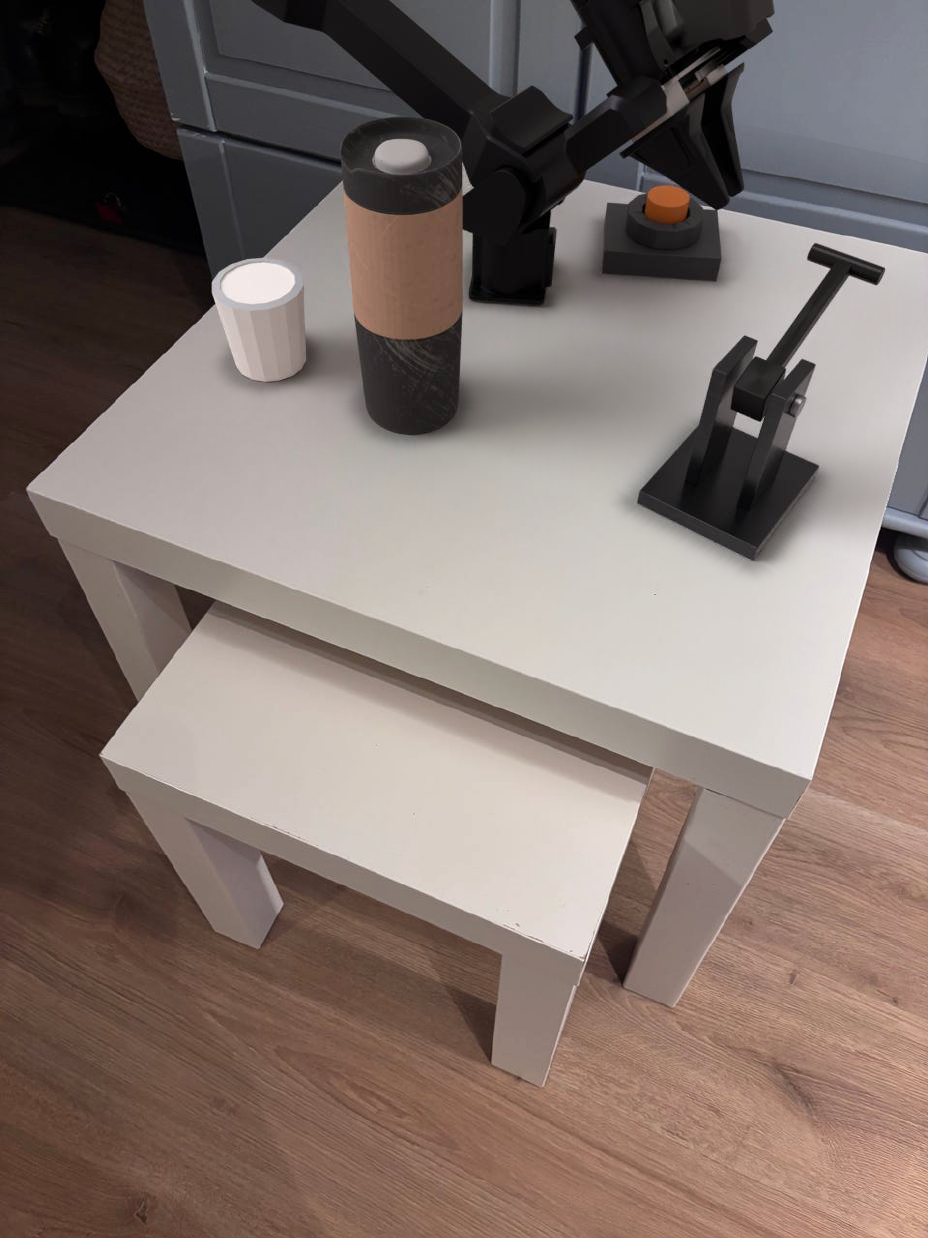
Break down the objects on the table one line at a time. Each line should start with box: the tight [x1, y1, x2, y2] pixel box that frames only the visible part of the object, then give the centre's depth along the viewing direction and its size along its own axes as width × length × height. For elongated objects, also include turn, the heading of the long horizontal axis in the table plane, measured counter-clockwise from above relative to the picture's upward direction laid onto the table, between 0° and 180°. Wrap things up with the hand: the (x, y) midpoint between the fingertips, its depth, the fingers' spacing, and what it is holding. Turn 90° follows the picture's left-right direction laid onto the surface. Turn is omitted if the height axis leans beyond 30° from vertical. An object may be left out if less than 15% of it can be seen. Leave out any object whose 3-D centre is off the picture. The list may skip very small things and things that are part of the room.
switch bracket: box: [636, 334, 820, 561], centre depth 66 cm, size 10×9×11 cm
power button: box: [645, 185, 691, 224], centre depth 85 cm, size 4×4×2 cm
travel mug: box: [339, 115, 464, 435], centre depth 67 cm, size 8×8×20 cm
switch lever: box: [730, 242, 886, 423], centre depth 64 cm, size 14×5×2 cm, turn 143°
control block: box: [601, 192, 723, 282], centre depth 87 cm, size 10×8×4 cm
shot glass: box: [211, 257, 307, 383], centre depth 76 cm, size 7×7×7 cm
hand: (730, 199), depth 68 cm, fingers closed
